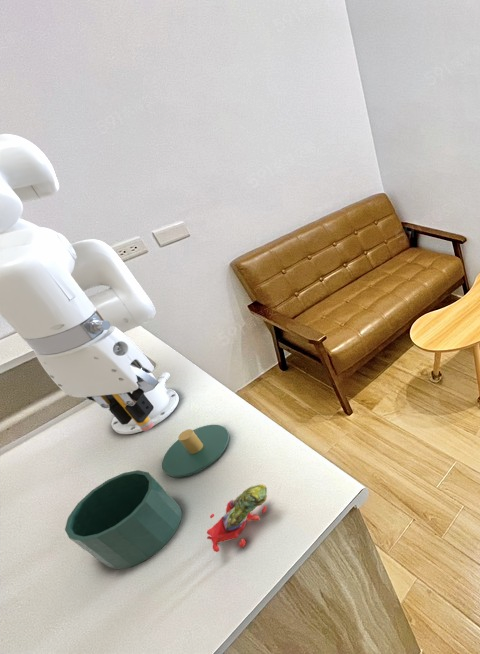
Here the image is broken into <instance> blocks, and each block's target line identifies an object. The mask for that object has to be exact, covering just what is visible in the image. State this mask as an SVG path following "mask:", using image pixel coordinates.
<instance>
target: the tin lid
mask: <svg viewBox="0 0 480 654" xmlns="http://www.w3.org/2000/svg"><path fill="white" fill-rule="evenodd" d="M229 441H230V433H229V431H228V429H227V428H226V427H225V426H222V425H219V424H207V425H203V426H200V427H197V428H195V429H191V428H190V429H186V430H184V431H182V432H181V433H180V434H179V435H178V437H177V440H176V441H175V442H174V443H172V445H170V447H169V448H168V449H167V450H166V452H165V453H164V456H163V458H162V462H161V468H162V470H163V472H164V473H165V474H166V475H167V476H170V477H173V478H182V477H189V476H191V475H194V474H196V473H198V472H200V471H203V470H204V469H206V468H208V467H209V466H210V465H211V464H213V463H214V462H215V461H216V460H217V459H219V458H220V456H221V455H222V454H223V453H224V452H225V450H226V449H227V446H228V444H229Z"/></svg>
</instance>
